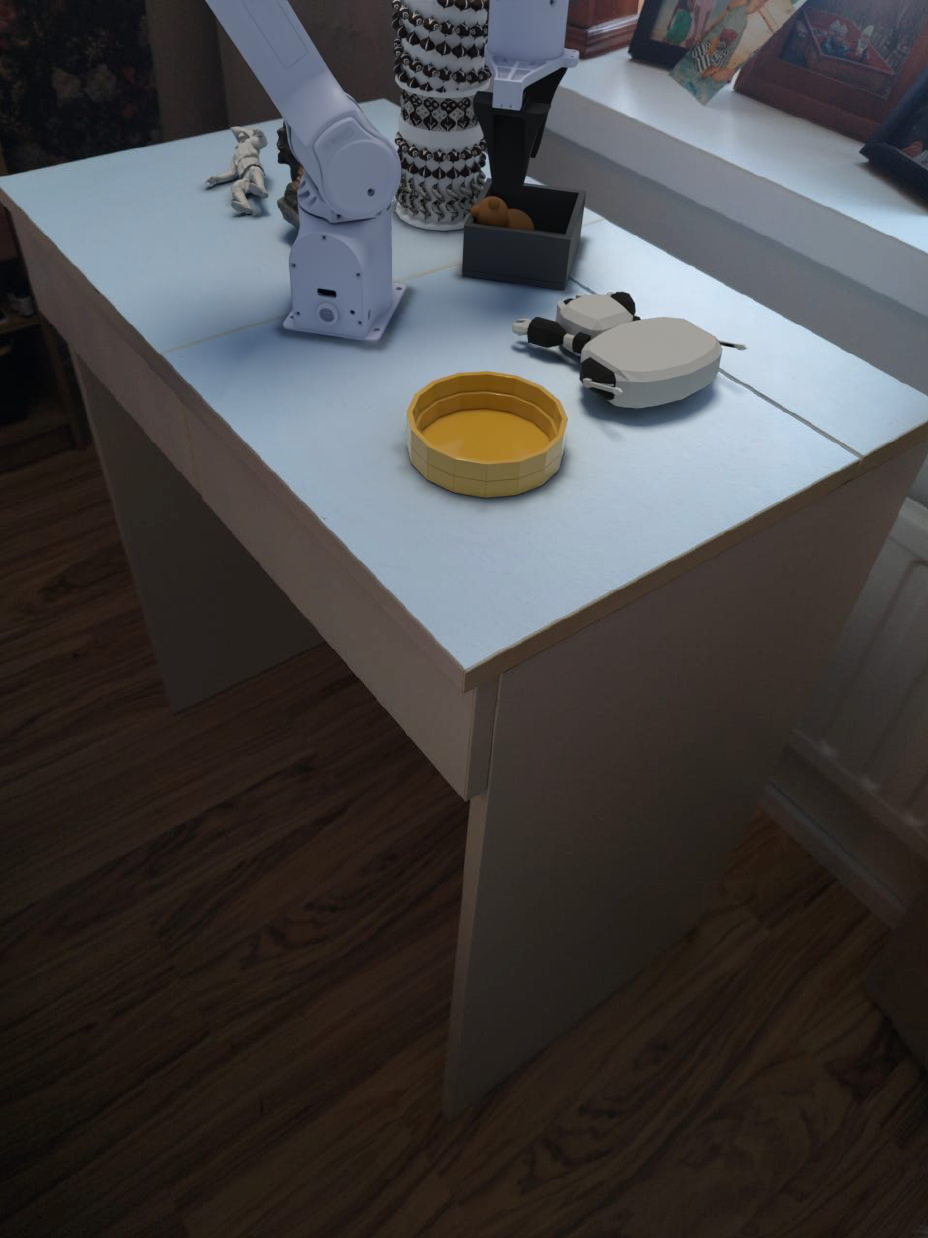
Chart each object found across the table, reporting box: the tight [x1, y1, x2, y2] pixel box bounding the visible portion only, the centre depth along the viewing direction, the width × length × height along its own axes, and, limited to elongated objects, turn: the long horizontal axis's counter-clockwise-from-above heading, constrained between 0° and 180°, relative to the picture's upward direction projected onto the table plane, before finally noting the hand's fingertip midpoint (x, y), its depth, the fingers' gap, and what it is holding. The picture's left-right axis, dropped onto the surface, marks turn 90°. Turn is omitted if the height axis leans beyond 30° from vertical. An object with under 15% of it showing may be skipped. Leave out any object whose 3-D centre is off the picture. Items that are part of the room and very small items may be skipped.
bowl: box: [406, 370, 569, 499], centre depth 70 cm, size 11×11×3 cm
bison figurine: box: [275, 120, 304, 231], centre depth 88 cm, size 12×7×10 cm, turn 36°
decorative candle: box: [390, 0, 493, 232], centre depth 89 cm, size 9×9×25 cm
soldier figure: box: [204, 126, 269, 215], centre depth 98 cm, size 8×5×12 cm
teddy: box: [471, 196, 534, 232], centre depth 88 cm, size 4×4×7 cm
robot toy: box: [511, 290, 748, 409], centre depth 78 cm, size 12×4×15 cm
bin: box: [461, 177, 587, 291], centre depth 90 cm, size 10×9×5 cm
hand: (515, 173), depth 82 cm, fingers open, 7 cm apart
